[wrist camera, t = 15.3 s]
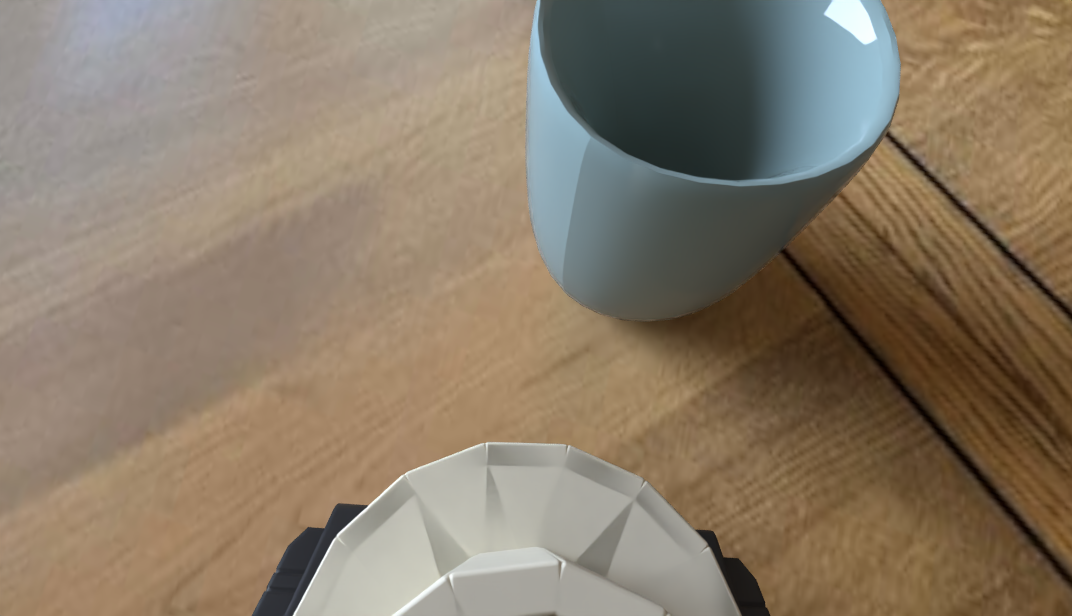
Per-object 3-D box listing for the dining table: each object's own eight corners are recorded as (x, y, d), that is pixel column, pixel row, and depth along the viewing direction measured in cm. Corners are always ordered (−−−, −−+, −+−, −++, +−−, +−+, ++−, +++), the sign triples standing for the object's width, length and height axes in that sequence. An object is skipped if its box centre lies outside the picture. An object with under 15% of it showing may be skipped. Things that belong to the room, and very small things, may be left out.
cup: (521, 349, 25) (526, 190, 13) (523, 156, 29) (529, -107, 17) (747, 352, 26) (950, 199, 14) (722, 160, 29) (866, -94, 17)
